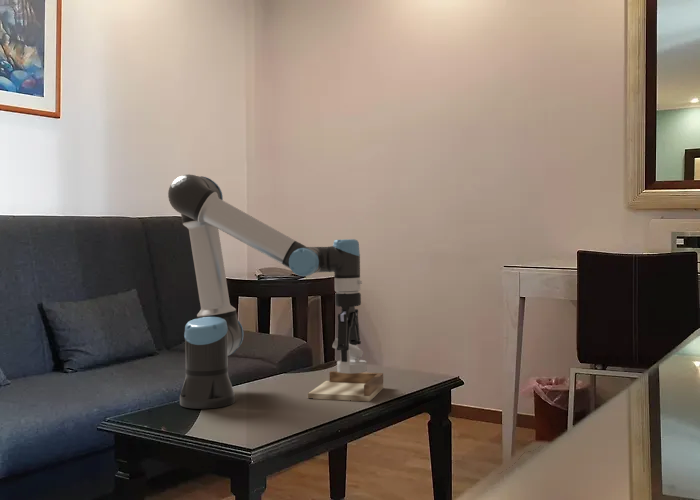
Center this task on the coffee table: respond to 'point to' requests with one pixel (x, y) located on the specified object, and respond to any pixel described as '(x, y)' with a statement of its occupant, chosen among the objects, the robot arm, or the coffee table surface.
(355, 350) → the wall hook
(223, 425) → the coffee table surface
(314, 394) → the wooden corner jig board
